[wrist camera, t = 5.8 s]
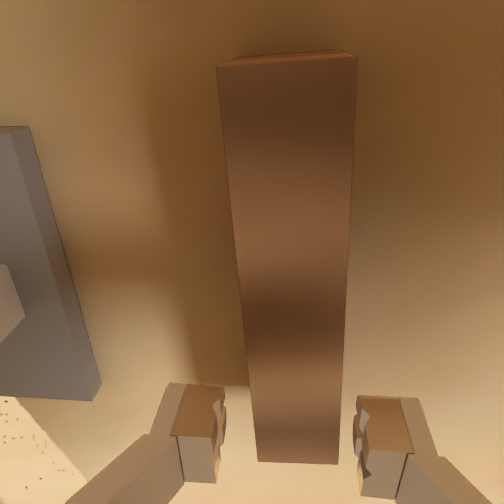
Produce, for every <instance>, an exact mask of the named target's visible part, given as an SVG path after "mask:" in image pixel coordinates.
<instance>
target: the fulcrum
mask: <svg viewBox="0 0 504 504" xmlns="http://www.w3.org/2000/svg"><path fill="white" fill-rule="evenodd" d="M100 385H101V381H100V377H99V374H98V370H97V367H96V363H95V359H94V356H93V352H92V349H91V345H90V342H89V338H88V335H87V331H86V328H85V324H84V321H83V317H82V314H81V310H80V307H79V303H78V300H77V296H76V292H75V289H74V285H73V282H72V278H71V275H70V271H69V268H68V264H67V261H66V257H65V254H64V250H63V247H62V243H61V240H60V236H59V232H58V229H57V225H56V222H55V218H54V215H53V211H52V208H51V204H50V201H49V197H48V194H47V190H46V187H45V183H44V180H43V176H42V172H41V169H40V165H39V162H38V158H37V155H36V151H35V148H34V144H33V141H32V137H31V134H30V130H29V127H0V396H11V397H28V398H46V399H64V400H81V401H92V400H93V398H94V397H95V395H96V393H97V391H98V389H99V387H100Z"/></svg>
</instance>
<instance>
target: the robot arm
mask: <svg viewBox="0 0 504 504" xmlns="http://www.w3.org/2000/svg"><path fill="white" fill-rule="evenodd" d="M224 399H225V392H224V387H217V386H205V385H194V384H180V383H169V385H168V386H167V387H166V390H165V393H164V395H163V398H162V401H161V404H160V406H159V409H158V412H157V415H156V417H155V420H154V423H153V426H152V428H151V431H150V434H144V435H142V436H141V437H140V438H139V439H138V440H137V441H135V442H134V443H133V444H132V445H131V446H130V447H129V448H127V449H126V450H125V451H124V452H123V453H122V454H120V455H119V456H118V457H117V458H116V459H115V460H114V461H112V462H111V463H110V464H109V465H108V466H107V467H105V468H104V469H103V470H102V471H101V472H100V473H99V474H97V475H96V476H95V477H94V478H93V479H92V480H90V481H89V482H88V483H87V484H86V485H85V486H84V487H82V488H81V489H80V490H79V491H78V492H77V493H75V494H74V495H73V496H72V497H71V498H70V499H69V500H67V501H66V503H65V504H168V503H169V502H170V501H171V499H172V498H173V497H174V496H175V494H176V493H177V492H178V491H179V490H180V488H181V487H182V486H183V485H184V482H199V483H216V482H217V476H218V471H219V465H220V460H221V457H220V446H221V445H222V444H223V443H224V437H225V429H226V407H225V406H224V405H223V404H224ZM356 409H357V414H356V415H355V416H354V421H353V445H354V453H355V454H356V456H357V457H358V458H359V460H358V466H357V475H358V482H359V488H360V495H361V496H366V497H375V498H384V499H393V500H396V501H395V502H396V503H397V504H492V503H491V502H490V501H489V500H488V499H487V498H486V497H485V496H484V495H483V494H482V493H481V492H480V491H479V490H478V489H477V488H476V487H475V486H474V485H473V484H472V483H471V482H470V481H469V480H468V479H467V478H466V477H465V476H464V475H463V474H461V473H460V472H459V471H458V470H457V469H456V468H455V467H454V466H453V465H452V464H451V463H450V462H449V461H448V460H447V459H446V458H445V457H441V456H438V454H437V451H436V448H435V445H434V442H433V439H432V436H431V433H430V430H429V427H428V424H427V421H426V418H425V415H424V412H423V409H422V406H421V403H420V401H419V400H418V399H417V398H403V397H397V398H396V397H390V396H370V395H358V397H357V401H356Z"/></svg>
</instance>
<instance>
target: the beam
mask: <svg viewBox="0 0 504 504" xmlns="http://www.w3.org/2000/svg"><path fill="white" fill-rule="evenodd" d="M216 72H217V82H218V91H219V100H220V110H221V119H222V128H223V138H224V147H225V157H226V166H227V175H228V185H229V194H230V203H231V213H232V222H233V232H234V241H235V250H236V260H237V269H238V278H239V288H240V297H241V307H242V316H243V325H244V335H245V344H246V353H247V363H248V372H249V382H250V391H251V400H252V410H253V419H254V428H255V438H256V447H257V457H258V462H280V463H307V464H334V465H338V456H339V435H340V414H341V393H342V372H343V351H344V329H345V308H346V287H347V266H348V245H349V224H350V202H351V181H352V160H353V139H354V118H355V97H356V75H357V56H354V55H352V54H349V53H347V52H344V51H342V50H326V51H313V52H301V53H288V54H275V55H262V56H249V57H237V58H234V59H232V60H230V61H228V62H226V63H224V64H222V65H220V66H218V67H216Z"/></svg>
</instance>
